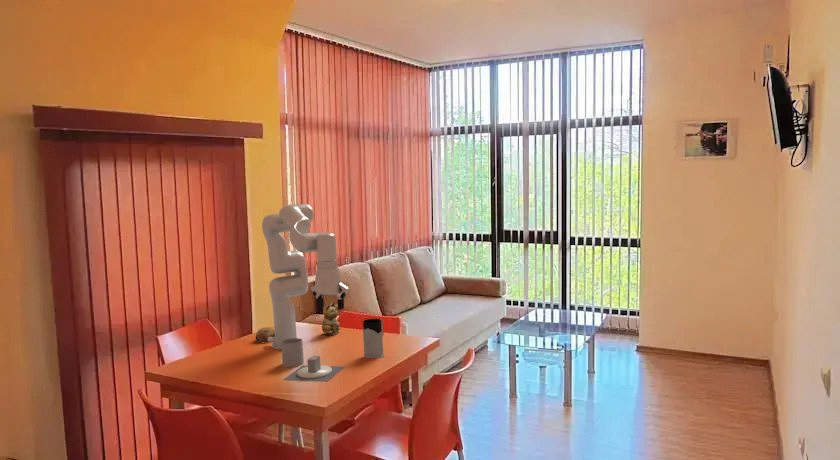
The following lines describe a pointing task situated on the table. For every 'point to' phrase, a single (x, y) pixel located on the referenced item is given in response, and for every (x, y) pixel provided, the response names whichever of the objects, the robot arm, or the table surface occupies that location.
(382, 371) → the table surface
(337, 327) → the decorative figurine
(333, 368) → the mat
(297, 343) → the cup
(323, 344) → the table surface
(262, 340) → the bread roll
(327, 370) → the lid
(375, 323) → the glass holder
